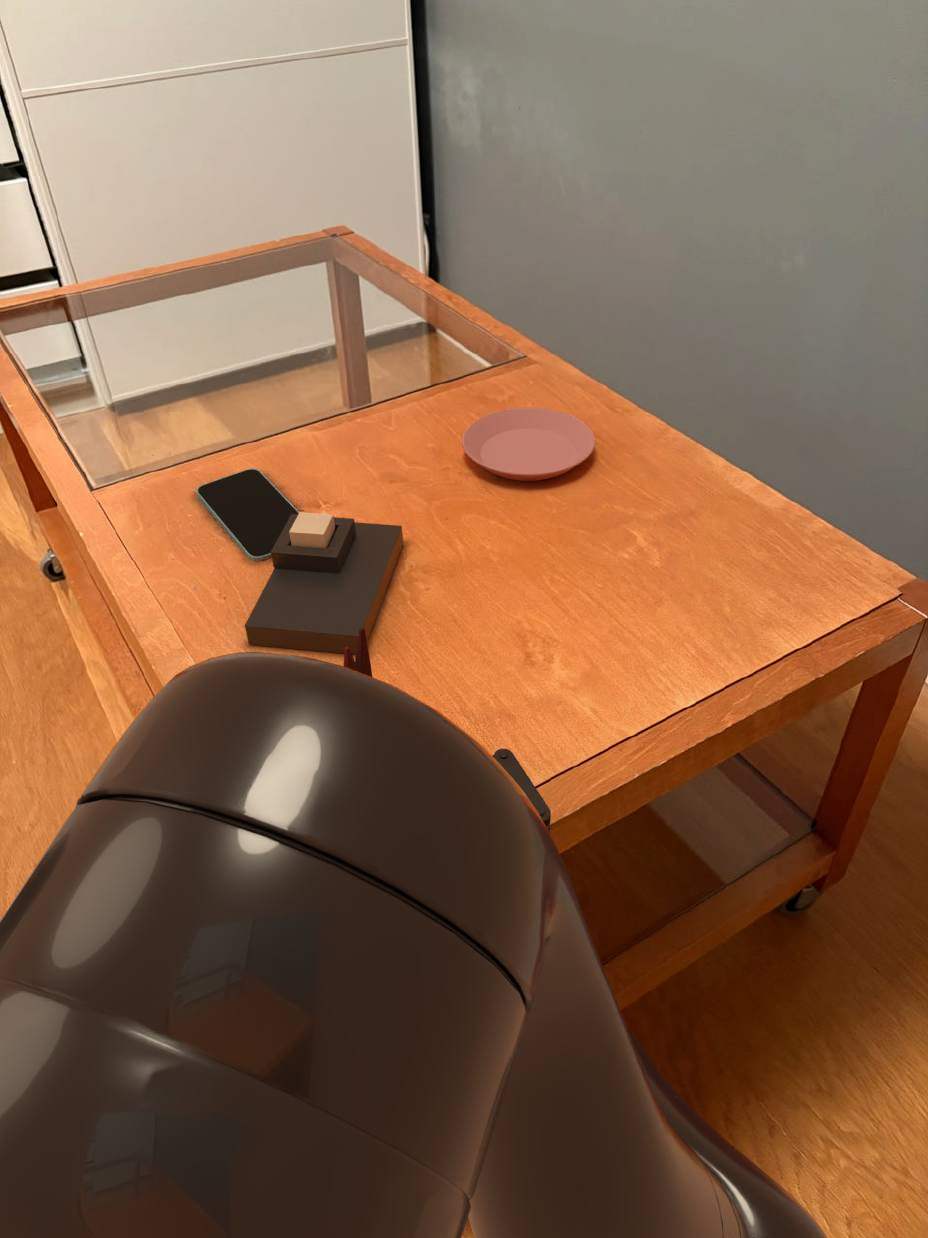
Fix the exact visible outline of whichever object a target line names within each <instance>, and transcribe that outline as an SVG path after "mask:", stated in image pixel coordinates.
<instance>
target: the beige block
mask: <svg viewBox="0 0 928 1238" xmlns="http://www.w3.org/2000/svg"><path fill="white" fill-rule="evenodd" d="M334 517H335V516H334V514H333V513H322V512H321V513H320V512H319V513H318V512H306V511H299V514H298V516H297V518H296V520H295V522H294V524H293V526H292V527H291V529H290V531H289V533H290V539H291V545H292V546H301V547H314V548H327V547H328V545H329V543H330V540H331V538H332V536H333V534H334V532H335V523H334Z"/></svg>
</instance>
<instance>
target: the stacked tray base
mask: <svg viewBox="0 0 928 1238" xmlns="http://www.w3.org/2000/svg"><path fill="white" fill-rule="evenodd" d="M297 516H298V515H297V514H291V516H290V518H289V520H288V521H287V523H286V525H285V527H284V529H283V531H282V532H281V534H280V536H279V538H278V540H277V542H276V543H275V545H274V547H273V549H272V551H271V556H272V557H271V560H272V561H271V562H272V565H273V566H272V567H273V570H272V572H271V574H270V576H269V578H268V580H267V582H266V584H265V586H264V588H263V589H262V592H261V593H260V595H259V597H258V599H257V601H256V603H255V605H254V607H253V609H252V611H251V612H250V614H249V616H248V618H247V620H246V622H245V624H244V629H245V633H246V637H247V641H248V645H249V646H250V645H251V646H257V647H259V646H260V647H269V648H270V647H271V648H279V649H280V648H282V649H290V650H301V651H310V652H311V651H313V652H323V653H333V654H343V655H344V649H345V647H348V648H350V651H351V653H352V655H353V656H354V655H355V656H356V650H357V643H358V635H359V630H360V628H364V629H365V634H366V640H367V643H368V642H369V639H370V636H371V634H372V631H373V629H374V625H375V623H376V620H377V618H378V615H379V612H380V610H381V606H382V605H383V604H382V603H383V601H384V598H385V595H386V593H387V590H388V587H389V584H390V582H391V579H392V576H393V573H394V571H395V568H396V565H397V563H398V560H399V558H400V554H401V551H402V549H403V546H404V538H403V537H404V536H403V527H402V525H398V524H386V523H385V524H384V523H383V524H382V523H372V522H371V523H369V522H359V521H357V522H356V521H355V518H352V517H351V518H350V517H336V516H334V523H335V532H334V534H333V536H332V538H331V540H330V543H329V545H328V547H327V548H314V547H301V546H292V545H291V539H290V533H289V531H290V529H291V527H292V526H293V524H294V522H295V520H296V518H297Z"/></svg>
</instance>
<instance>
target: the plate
mask: <svg viewBox="0 0 928 1238" xmlns="http://www.w3.org/2000/svg"><path fill="white" fill-rule="evenodd" d="M461 444H462V445H461V446H462V449H463V450H464V452H465V454H466V455H467V456H468V457H469V458H470V459H471V460H472V461H473V462H475V463H476V464H477V465H479V466H481V467H482V468H484V469H485V470H487V471H488V472H490V473H492V474H494V475H496V476H498V477H501V478H503V479H504V478H505V479H509V480H514V481H522V482H524V481H525V482H535V481H543V480H548V479H553V478H556V477H559V476H561V475H564V474H565V473H567V472H569V471H570V470H572V469H574V468H575V467H577V466H578V465H580V464H581V463H583V462H584V461H586V460H587V459H588V458H589V457H590V456H591V455H592V453H593V451H594V449H595V447H596V437H595V433H594V432H593V431H592V429H591V428H590V426H588V424H587V423H586V422H584V421H582V420H581V419H580V418H578V417H576V416H574V415H571V414H569V413H567V412H563V411H560V410H556V409H551V408H545V407H531V406H530V407H529V406H527V407H526V406H525V407H513V408H506V409H502V410H497V411H494V412H491V413H488V414H486V415H483V416H481V417H480V418H477V419H476V420H474V421H473V422H472V423H471V424H470V425H468V427H467V428H466V429H465V431H464V433H463V435H462V438H461Z"/></svg>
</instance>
